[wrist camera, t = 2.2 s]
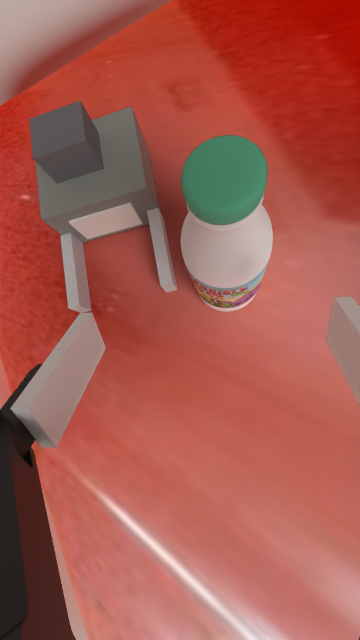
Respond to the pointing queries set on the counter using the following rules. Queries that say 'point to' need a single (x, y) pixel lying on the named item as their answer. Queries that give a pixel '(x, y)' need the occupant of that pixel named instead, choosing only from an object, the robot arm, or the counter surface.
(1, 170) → the counter surface
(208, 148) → the milk bottle
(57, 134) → the stacked grey blocks
